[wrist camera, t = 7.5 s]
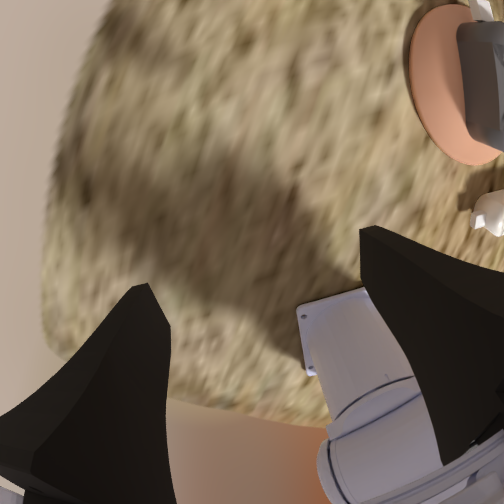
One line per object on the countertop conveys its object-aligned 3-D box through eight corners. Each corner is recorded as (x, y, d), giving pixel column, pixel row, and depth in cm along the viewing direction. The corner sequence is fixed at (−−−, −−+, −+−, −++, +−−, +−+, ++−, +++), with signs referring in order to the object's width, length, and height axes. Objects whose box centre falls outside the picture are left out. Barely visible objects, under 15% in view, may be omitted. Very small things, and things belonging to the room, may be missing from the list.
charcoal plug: (493, 140, 17) (524, 153, 14) (465, 143, 17) (499, 157, 14) (476, 6, 11) (509, 4, 8) (446, -3, 11) (479, -9, 8)
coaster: (514, 156, 18) (519, 158, 18) (416, 172, 18) (421, 175, 18) (504, 21, 12) (509, 21, 11) (391, -7, 12) (395, -9, 11)
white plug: (517, 185, 20) (536, 196, 18) (513, 210, 21) (531, 223, 19) (464, 198, 20) (486, 212, 18) (461, 228, 22) (480, 243, 19)
